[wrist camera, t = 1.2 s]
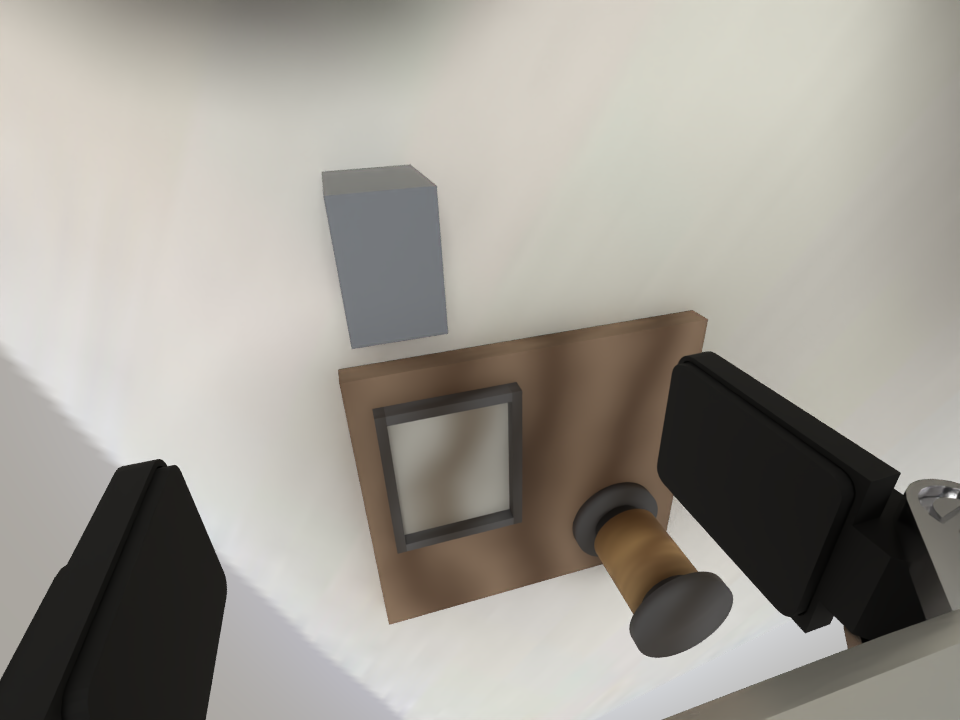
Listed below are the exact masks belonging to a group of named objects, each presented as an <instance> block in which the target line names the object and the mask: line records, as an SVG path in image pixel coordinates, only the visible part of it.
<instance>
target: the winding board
mask: <svg viewBox="0 0 960 720" xmlns="http://www.w3.org/2000/svg"><path fill="white" fill-rule="evenodd" d="M707 322H708V319H706V318H705V317H703V316H701V315H700V314H698V313H696V312H694V311H693V310H691V311H685V312H679V313H673V314H667V315H661V316H655V317H649V318H643V319H637V320H632V321H626V322H620V323H614V324H608V325H602V326H596V327H590V328H584V329H578V330H572V331H566V332H560V333H554V334H548V335H542V336H536V337H530V338H524V339H518V340H512V341H506V342H500V343H494V344H488V345H482V346H476V347H470V348H464V349H458V350H453V351H447V352H441V353H435V354H429V355H423V356H417V357H411V358H405V359H399V360H393V361H387V362H381V363H375V364H369V365H363V366H357V367H351V368H345V369H339V370H338V371H339V384H340V388H341V393H342V398H343V403H344V408H345V413H346V418H347V422H348V427H349V432H350V437H351V442H352V447H353V452H354V456H355V461H356V466H357V471H358V476H359V481H360V485H361V490H362V495H363V500H364V505H365V510H366V515H367V519H368V524H369V529H370V534H371V539H372V544H373V548H374V553H375V558H376V563H377V568H378V573H379V578H380V582H381V587H382V592H383V597H384V602H385V607H386V612H387V616H388V621H389V625H390V624H393V623H397V622H401V621H404V620H408V619H411V618H415V617H418V616H422V615H425V614H429V613H432V612H436V611H439V610H443V609H446V608H450V607H453V606H457V605H460V604H464V603H467V602H471V601H474V600H478V599H481V598H485V597H488V596H492V595H495V594H499V593H502V592H506V591H509V590H513V589H517V588H520V587H524V586H527V585H531V584H534V583H538V582H541V581H545V580H548V579H552V578H555V577H559V576H562V575H566V574H569V573H573V572H576V571H580V570H583V569H587V568H590V567H594V566H597V565H601V564H603V565H604V566H605V568H606V570H607V571H608V573H609V575H610V576H611V578H612V580H613V581H614V583H615V585H616V586H617V588H618V590H619V591H620V593H621V595H622V596H623V598H624V600H625V601H626V603H627V604H628V606H629V608H630V609H631V611H632V613H633V614H634V615H633V617H632V619H631V622H630V628H629V630H630V635H631V637H632V639H633V640H634V642H635V644H636V646H637V647H638V649H639V650H640V652H641V653H643V654H644V655H646V656H649V657H655V658H661V657H668V656H672V655H675V654H678V653H681V652H684V651H686V650H688V649H690V648H692V647H694V646H696V645H697V644H699V643H700V642H702V641H703V640H705V639H706V638H707V637H709V636H710V635H711V634H712V633H713V632H714V631H715V630H717V628H718V627H719V626H720V625H721V624H722V623H723V622H724V620H725V619H726V617H727V616H728V614H729V612H730V610H731V607H732V604H733V595H732V592H731V591H730V589H729V588H728V587H727V586H726V584H725V583H724V582H723V581H722V580H721V578H720V577H719V576H717V575H716V574H714V573H710V572H698V571H697V570H696V568H695V567H694V566H693V565H692V563H691V562H690V561H689V560H688V558H687V557H686V556H685V555H684V553H683V552H682V551H681V549H680V548H679V547H678V546H677V544H676V543H675V542H674V541H673V539H672V538H671V537H670V536H669V534H668V533H667V532H666V530H667V525H668V520H669V515H670V510H671V505H672V500H673V494H672V493H671V492H670V491H669V489H668V488H667V487H666V486H665V485H664V484H663V483H662V481H661V480H660V478H659V475H658V472H657V461H658V455H659V448H660V442H661V436H662V430H663V424H664V418H665V412H666V406H667V400H668V394H669V387H670V381H671V375H672V371H673V368H674V367H675V366H676V365H677V364H678V362H679V360H680V359H681V358H682V357H684V356H687V355H692V354H697V353H701V352H702V347H703V342H704V337H705V332H706V327H707Z"/></svg>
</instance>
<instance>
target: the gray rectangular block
mask: <svg viewBox="0 0 960 720" xmlns="http://www.w3.org/2000/svg"><path fill="white" fill-rule="evenodd" d="M322 182H323V195H324V201H325V207H326V212H327V217H328V223H329V228H330V234H331V239H332V244H333V250H334V255H335V261H336V266H337V271H338V277H339V282H340V288H341V293H342V298H343V304H344V309H345V315H346V320H347V325H348V331H349V336H350V342H351V347H352V349H355V348H361V347H367V346H374V345H380V344H386V343H392V342H399V341H405V340H411V339H417V338H423V337H430V336H436V335H442V334H448V326H447V313H446V300H445V287H444V275H443V262H442V249H441V236H440V223H439V211H438V198H437V186H436V185H435V184H434V183H433V182H431V181H430V180H429V179H428V178H426V177H425V176H424V175H423V174H421V173H420V172H419V171H418V170H417V169H415V168H414V167H413V166H412V165H399V166H387V167H375V168H362V169H350V170H338V171H326V172H322Z"/></svg>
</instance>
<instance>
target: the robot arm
mask: <svg viewBox="0 0 960 720" xmlns="http://www.w3.org/2000/svg"><path fill="white" fill-rule="evenodd" d="M657 472H658V475H659V478H660V480H661V481H662V483H663V484H664V485H665V486H666V487H667V488H668V489H669V491H670V492H671V493H672V494H673V495H674V496H675V497H676V498H677V499H678V501H679V502H680V503H681V504H682V505H683V506H684V507H685V508H686V509H687V510H688V512H689V513H690V514H691V515H692V516H693V517H694V518H695V519H696V520H697V522H698V523H699V524H700V525H701V526H702V527H703V528H704V529H705V530H706V532H707V533H708V534H709V535H710V536H711V537H712V538H713V539H714V540H715V542H716V543H717V544H718V545H719V546H720V547H721V548H722V549H723V550H724V552H725V553H726V554H727V555H728V556H729V557H730V558H731V559H732V560H733V562H734V563H735V564H736V565H737V566H738V567H739V568H740V569H741V570H742V572H743V573H744V574H745V575H746V576H747V577H748V578H749V579H750V580H751V582H752V583H753V584H754V585H755V586H756V587H757V588H758V589H759V590H760V592H761V593H762V594H763V595H764V596H765V597H766V598H767V599H768V600H769V602H770V603H771V604H772V605H773V606H774V607H775V608H776V609H777V610H778V611H779V612H780V613H781V614H783V615H785V616H788V617H791V618H792V619H793V620H794V622H795V623H796V624H797V625H798V626H799V627H800V628H801V629H802V630H803V631H804V632H805V633H807V632H810V631H812V630H815V629H818V628H821V627H823V626H826V625H829V624H830V623H831V621H832V619H833V616H835V617H836V618H837V619H838V620H839V621H840V622H841V623H842V624H843V625H844V631H845V637H846V642H847V646H848V649H847V650H844V651H841V652H839V653H836V654H833V655H831V656H828V657H825V658H823V659H820V660H818V661H815V662H812V663H810V664H807V665H804V666H802V667H799V668H796V669H794V670H792V671H788V672H786V673H783V674H780V675H778V676H775V677H773V678H770V679H767V680H765V681H762V682H759V683H757V684H754V685H751V686H749V687H746V688H744V689H741V690H738V691H736V692H733V693H730V694H728V695H725V696H723V697H720V698H717V699H715V700H712V701H710V702H707V703H704V704H702V705H699V706H697V707H694V708H691V709H689V710H686V711H684V712H681V713H678V714H676V715H673V716H670V717H668V718H665V719H663V720H960V484H959V483H955V482H951V481H946V480H938V479H924V480H918V481H915V482H913V483H911V484H910V485H909V486H908V488H907V489H906V491H905V493H904V495H903V494H901V493H900V492H898V491H897V490H895V489H894V487H895V484H896V482H897V480H898V478H899V476H900V474H901V473H900V472H899V471H897V470H896V469H894V468H892V467H891V466H889V465H888V464H886V463H885V462H883V461H882V460H880V459H878V458H877V457H875V456H874V455H872V454H871V453H869V452H868V451H866V450H864V449H863V448H861V447H860V446H858V445H857V444H855V443H854V442H852V441H850V440H849V439H847V438H846V437H844V436H843V435H841V434H840V433H838V432H837V431H835V430H833V429H832V428H830V427H829V426H827V425H826V424H824V423H823V422H821V421H819V420H818V419H816V418H815V417H813V416H812V415H810V414H809V413H807V412H805V411H804V410H802V409H801V408H799V407H798V406H796V405H795V404H793V403H792V402H790V401H788V400H787V399H785V398H784V397H782V396H781V395H779V394H778V393H776V392H774V391H773V390H771V389H770V388H768V387H767V386H765V385H764V384H762V383H760V382H759V381H757V380H756V379H754V378H753V377H751V376H750V375H748V374H746V373H745V372H743V371H742V370H740V369H739V368H737V367H736V366H734V365H733V364H731V363H729V362H728V361H726V360H725V359H723V358H722V357H720V356H719V355H717V354H715V353H713V352H702V353H697V354H692V355H687V356H684V357H682V358H681V359H680V360H679V362H678V364H677V365H676V366H675V367H674V368H673V371H672V375H671V381H670V387H669V394H668V400H667V406H666V412H665V418H664V424H663V430H662V436H661V442H660V448H659V455H658V461H657ZM226 595H227V584H226V577H225V574H224V571H223V569H222V567H221V564H220V562H219V560H218V557H217V555H216V553H215V550H214V548H213V545H212V543H211V541H210V538H209V536H208V534H207V531H206V529H205V527H204V524H203V522H202V520H201V517H200V515H199V513H198V510H197V508H196V506H195V503H194V501H193V498H192V496H191V494H190V491H189V489H188V487H187V484H186V482H185V480H184V477H183V475H182V473H181V471H180V469H179V468H178V466H176V465H172V466H167V465H166V463H165V462H164V461H163V460H160V459H157V460H152V461H147V462H142V463H137V464H131V465H126V466H122V467H120V468H118V469H117V470H116V472H115V473H114V475H113V477H112V479H111V481H110V483H109V485H108V487H107V489H106V491H105V493H104V495H103V496H102V498H101V500H100V502H99V504H98V506H97V508H96V510H95V512H94V514H93V516H92V518H91V520H90V521H89V523H88V525H87V527H86V529H85V531H84V533H83V535H82V537H81V539H80V541H79V543H78V545H77V547H76V548H75V550H74V552H73V554H72V556H71V558H70V560H69V562H68V564H67V565H66V566H64V567H63V568H62V569H61V570H60V571H59V572H58V574H57V576H56V577H55V578H54V580H53V582H52V584H51V586H50V588H49V589H48V591H47V593H46V595H45V597H44V599H43V601H42V603H41V605H40V606H39V608H38V610H37V612H36V614H35V616H34V618H33V619H32V622H31V623H30V625H29V627H28V629H27V631H26V633H25V635H24V636H23V638H22V640H21V642H20V644H19V646H18V648H17V650H16V652H15V653H14V655H13V657H12V659H11V661H10V663H9V665H8V667H7V669H6V670H5V672H4V674H3V676H2V678H1V680H0V720H206V714H207V708H208V702H209V696H210V691H211V685H212V679H213V673H214V667H215V661H216V655H217V649H218V643H219V638H220V632H221V626H222V620H223V614H224V607H225V602H226Z"/></svg>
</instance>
